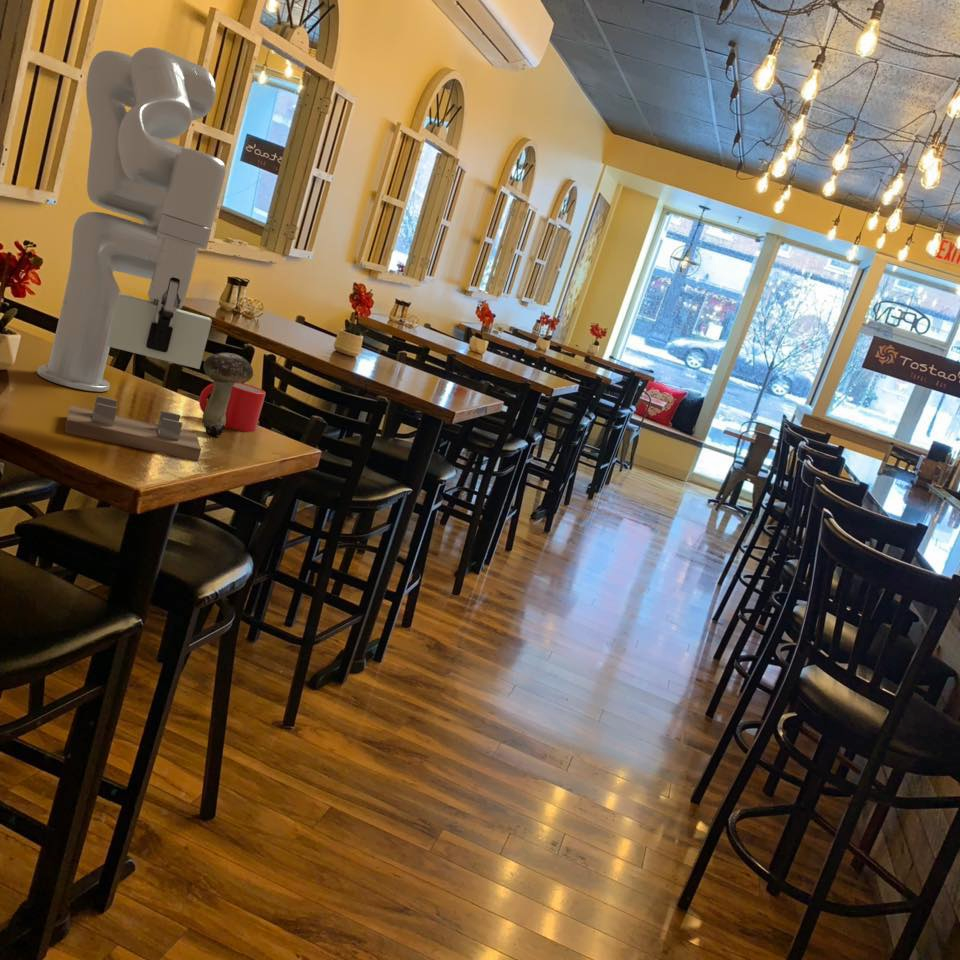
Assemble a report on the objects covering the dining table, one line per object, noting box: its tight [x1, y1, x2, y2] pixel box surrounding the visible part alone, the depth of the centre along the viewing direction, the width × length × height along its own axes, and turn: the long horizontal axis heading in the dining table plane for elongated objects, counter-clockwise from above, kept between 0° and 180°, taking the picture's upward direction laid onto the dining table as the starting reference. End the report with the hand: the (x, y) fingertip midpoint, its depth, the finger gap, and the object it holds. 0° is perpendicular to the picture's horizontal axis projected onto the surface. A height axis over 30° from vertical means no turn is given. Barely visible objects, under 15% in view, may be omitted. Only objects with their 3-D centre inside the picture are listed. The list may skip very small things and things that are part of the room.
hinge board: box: [64, 395, 202, 462], centre depth 149 cm, size 10×20×5 cm, turn 111°
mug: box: [198, 382, 266, 433], centre depth 182 cm, size 8×12×8 cm, turn 119°
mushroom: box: [202, 352, 254, 436], centre depth 168 cm, size 9×9×15 cm
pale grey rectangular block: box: [107, 292, 213, 370], centre depth 147 cm, size 4×14×8 cm, turn 112°
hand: (155, 346), depth 147 cm, fingers closed on pale grey rectangular block, 3 cm apart
